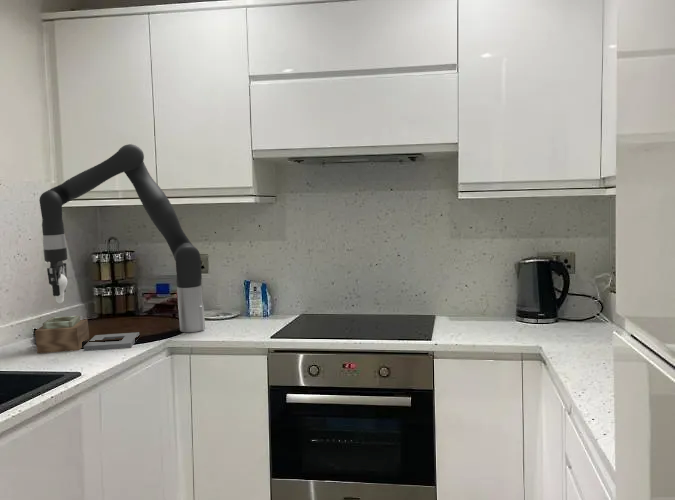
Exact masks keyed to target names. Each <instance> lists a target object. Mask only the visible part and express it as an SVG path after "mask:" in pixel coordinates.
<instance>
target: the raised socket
mask: <svg viewBox="0 0 675 500" xmlns="http://www.w3.org/2000/svg"><path fill="white" fill-rule="evenodd" d="M34 333H35V334H34V336H35V342H36V343H35V344H36V345H35V346H36V353H37V354H47V353H48V354H49V353H61V352H76V351H80V350H81V349H82V348H83V347H82V342H83V341H85V340H87V339H89V340H90V331H89V320H88V319H81V316H80V315H70V316H54V317H51V318H49V319H46V321H44V322H43V323H42V326H40V327H39V328H37V329H36V330H34Z"/></svg>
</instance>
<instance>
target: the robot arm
mask: <svg viewBox="0 0 675 500" xmlns="http://www.w3.org/2000/svg"><path fill="white" fill-rule="evenodd" d="M144 159H145V154H144V151H143V150H142V148H141V147H140V146H138V145H136V144H132V143H131V144H130V143H129V144H128V143H127V144H124V145H123V146H121V147H120V148H119V149H118V150H117V151H116V152H115V153H114V154H112V156H110V157H109V158H107V159H105V160H104V161H102V162H100V163H99V164H96V165H94V166H92V167H90V168H88V169H86V170H84V171H82V172H79V173H77V174H76V175H74V176H72V177H70V178H69V179H66V180H65V181H64V182H63V183H61V184H59V185H57V186H55V187H52V188H50V189H48V190H46V191H44V192H43V193H41V194H40V196H39V199H38V200H39V208H40V214H41V227H42V247H43V257H44V261H45V262H47V263H48V262H49V263H50V265H49V267H47V268H46V271H47V278H48V285H49V284H50V285H51V286H52V288H51V290H52V289H53V290H52V296H53V297H55V296H59V295H60V287H59V279H61V274H63V275H64V276H66V278H67V279H68V277H67V276H68V275H67V263H66V262H64V263H63V261H67V260H68V257H69V256H68V250H67V239H66V236H65V235H66V234H65V226H64V220H63V205H65V204H67V203H69V202H70V201H72V200H75V199H78V198H80V197H81V196H84V195H85V194H87V193H89V192H90V191H92V190H94V189H96V188H98V187H99V186H100V185H102V184H103V183H105V182H106V181H108V180H109V179H112V178H114V177H115V176H118V175H119V174H122V173H124V174H125V175H126V177H127V178H128V179H129V181H130V182H131V184H132V186H133V188H134V190H135V192H136V195H137V196H138V199H139V201H140V202H141V204H142V206H143V207H144V210H145V212H146V213H147V215H148V217H149V219H150V220H151V221H152V223H153V225H154V226H155V227H156V229H157V230H158V232H160V233H161V235H162V236H163V238H164V239H165V240H166V242H167V245H168V247H169V249H170V250H171V251H170V252H171V253H172V257H173V258H174V261H175V269H176V291H177V305H178V306H177V307H178V319H179V331H180V332H182V333H196V332H200V331H201V332H202V331H205V328H206V323H205V322H206V320H205V306H204V303H203V289H202V276H203V275H202V261H201V253H200V251H199V250H198V248H196V247H195V245H193V243H192V241H190V239H189V237H188V236H187V235H186V234H185V232H184V230H183V228H182V226H181V223H180V220H179V218H178V216H177V213H176V210H175V208H174V207H173V205H172V203H171V201H170V200H169V198H168V196H167V195H166V193H165V192H164V191H163V190H162V188H161V187H160V186H159V185H158V183H157V182H156V181H155V180H154V178H153V177H152V176H151V174H150V172H149V171H148V168H147V166H146V165H145V162H144ZM53 280H55V281H53ZM50 285H49V286H50ZM64 293H66V289H65V291H64Z"/></svg>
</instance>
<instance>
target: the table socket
mask: <svg viewBox="0 0 675 500" xmlns="http://www.w3.org/2000/svg"><path fill="white" fill-rule="evenodd" d="M139 335H140V331H138V332H124V333H123V332H122V333H107V334H95V335H93V337H92V338H91V339H89V341H95V340H103V339H115V338H123V339H122V340H119V341H105V342H89V341H88V342H87V343H86V344H85V345H84V346H83V352H84V351H86V352H87V351H100V350H101V351H102V350H112V349H113V350H114V349H115V350H117V349H129V348H132V347H133V345H134V344H135V343H136V342H135V338H136V337H138V336H139Z"/></svg>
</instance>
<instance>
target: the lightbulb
mask: <svg viewBox="0 0 675 500" xmlns="http://www.w3.org/2000/svg"><path fill="white" fill-rule="evenodd" d="M53 281H55V280H53ZM48 285H49V288H51V290H52V291H53V289H52V286H51V285H50V284H49V283H48ZM67 285H68V277H67V278H66V276H64V275H63V273H62V274H61V279H59V287H60V295H59V296H54V297H55V302H56V303H58V305H61V304H62V303H64V301H65V292H64V291H65V290H66V289H67V288H66V287H67Z"/></svg>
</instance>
